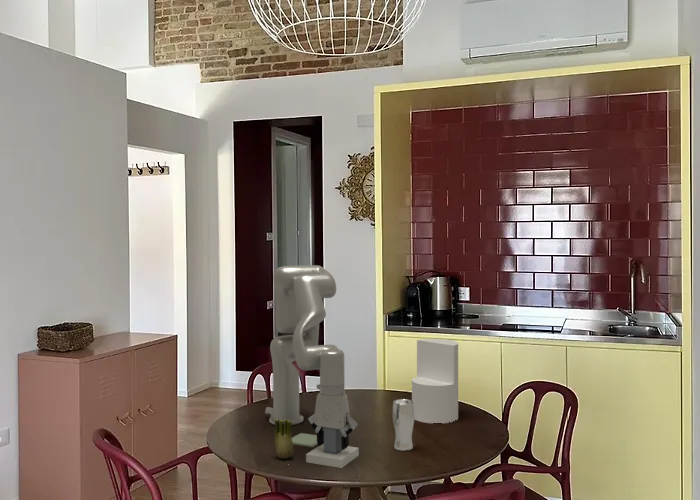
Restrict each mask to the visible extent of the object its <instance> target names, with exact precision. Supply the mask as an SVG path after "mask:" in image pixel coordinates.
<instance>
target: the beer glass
mask: <svg viewBox="0 0 700 500" xmlns="http://www.w3.org/2000/svg"><path fill="white" fill-rule="evenodd" d="M392 423H393V427H394V434H395V436H394V437H395V441H394V446H393V448H394V449H395V450H397V451H404V452H405V451H406V450H407V451H411V450H413V448H414V445H413V429H414V425H415V419H414V402H413V401H412V399H405V398H400V399H395V400H393V403H392ZM407 451H406V452H407Z"/></svg>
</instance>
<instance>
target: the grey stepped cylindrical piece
mask: <svg viewBox="0 0 700 500" xmlns="http://www.w3.org/2000/svg"><path fill="white" fill-rule="evenodd" d="M411 400H412V401H413V402H414V421H418V422H420V423H425V424H433V423H442V424H450V423H453V421H454V422H456V421H457V420H458V419H459V342H458V341H455V340H452V339H451V340H450V339H445V338H444V339H442V338H425V339H423V338H422V339H416V377H415V376H414V377H413V378H412V379H411ZM455 420H456V421H455ZM449 422H450V423H449Z"/></svg>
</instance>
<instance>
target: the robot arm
mask: <svg viewBox="0 0 700 500" xmlns="http://www.w3.org/2000/svg"><path fill="white" fill-rule="evenodd" d="M336 283H337V282H336V280H335V278H334V276H333V275H332V274H331V273H330V272H329V271H328V270H327V269H325V268H324V267H322V266H321V265H316V264H309V265H306V264H305V265H283V266H279V267H277V268H276V269H275V270H274V273H273V284H274V288H275V292H276V312H275V326H276V330H277V331H278V332H279V333H281V334H284V335H279V336H276V337H274V338H273V339H272V340H271V342H270V345H269V346H270V347H269V349H270V355H271V361H272V363H271V364H272V384H273V385H272V386H273V389H272V393H273V394H272V395H273V397H272V399H273V400H272V401H273V407H270V406H267V407H266V408H265V411H264V413H265V414H266V415H267V414H268V415H270V416H269V423H270V424H272V425H275V420H276V419H278V420H284V421H285V419H287V420H288V421H291V422H292V424H291V425H292V426H294V425H299V424H301V423H303V422H304V416H303V415H302V414H300V373H299V370H298V369H297V367H296V366H295V365H294V364H293V362H296V365H297V366H298V368H299V369H300V370H302V371H315V370H317V371H318V370H319V383H318V384H317V385H316V389H317V390H319V393H317V394H316V395H317V396H316V401H315V408H314V413H313V414H312V415H311V416H309V417H307V419H308V420H307V421H308V422H309V424H311V427H312V428H313V430H314V431H315V434H316V435H317V442H318V444H317V447H318V446H321V445H322V444H324V428H331V429H340V431H341V449H342V450H344V449H346V448H347V447H348V446H350V442H349V441H350V436H349V435H351V434H352V433H353V431H355V429H356V428H357V427H358V425H359V424H358V422H357V421H356V420H355V419H353V418H352V416H350V407H349V401H348V395H347V394H346V393H345V391H346V390H345V385H346V384H345V353H344V351H343V350H342V349H339V348H338V346H336V345H335V344H319V334H320V333H319V331H320V323H322V322H323V321H324V320H325V318H326V317H327V312H326V309H325V305H324V302H323V299H331V298H333V297H334V296H336V292H337V284H336ZM285 334H286V335H285ZM349 425H350V427H348V426H349Z"/></svg>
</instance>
